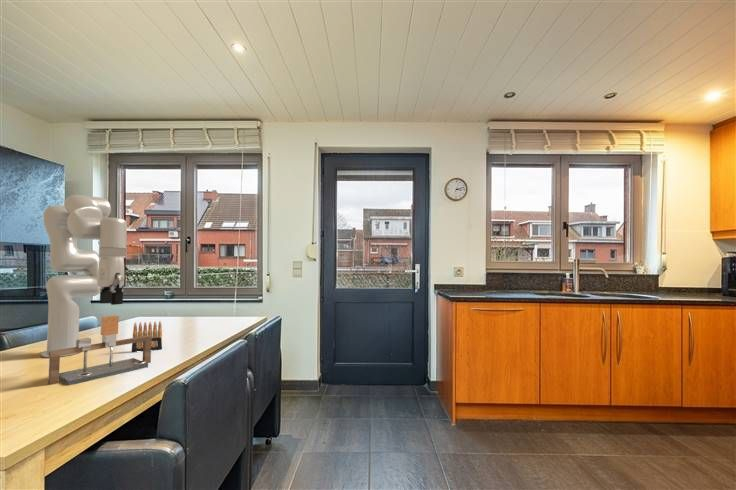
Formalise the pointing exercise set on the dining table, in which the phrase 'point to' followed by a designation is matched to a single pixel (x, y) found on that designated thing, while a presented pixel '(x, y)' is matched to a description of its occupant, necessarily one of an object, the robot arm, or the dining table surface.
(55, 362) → the divider frame
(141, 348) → the ammunition clip
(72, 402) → the dining table surface
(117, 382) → the dining table surface
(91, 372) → the bolt plate
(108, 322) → the sliding leg
